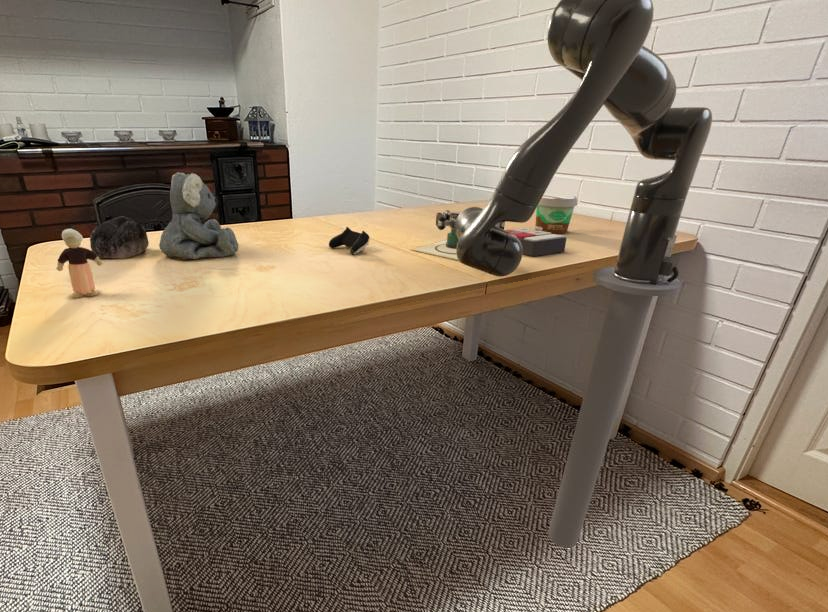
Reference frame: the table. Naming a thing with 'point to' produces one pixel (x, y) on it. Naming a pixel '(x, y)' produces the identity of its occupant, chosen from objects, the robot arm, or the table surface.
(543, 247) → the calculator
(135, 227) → the dark grey furry dome
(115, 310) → the table surface
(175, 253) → the koala plush
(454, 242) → the dot stamp
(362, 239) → the gaming controller
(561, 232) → the food container
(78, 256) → the grandmother figurine
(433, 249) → the paper sheet
